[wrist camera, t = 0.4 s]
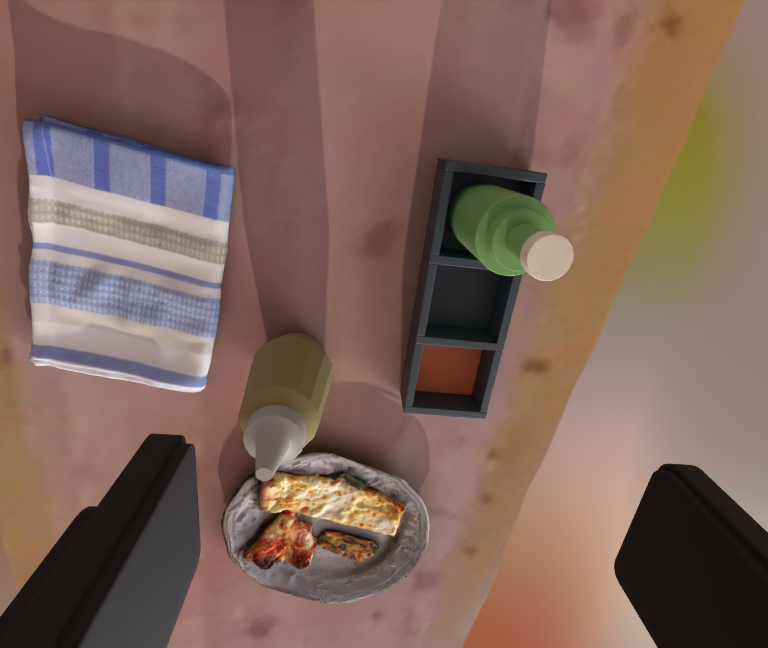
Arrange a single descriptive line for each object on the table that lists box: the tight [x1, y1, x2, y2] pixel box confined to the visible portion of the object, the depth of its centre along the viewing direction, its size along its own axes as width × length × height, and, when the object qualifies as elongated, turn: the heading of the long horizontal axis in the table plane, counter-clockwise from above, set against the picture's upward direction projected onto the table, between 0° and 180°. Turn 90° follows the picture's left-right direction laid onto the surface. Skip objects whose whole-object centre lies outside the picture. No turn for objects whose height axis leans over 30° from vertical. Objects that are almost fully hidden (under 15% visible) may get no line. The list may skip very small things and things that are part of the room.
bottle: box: [446, 182, 573, 281], centre depth 34 cm, size 6×6×17 cm
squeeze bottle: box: [239, 332, 333, 481], centre depth 38 cm, size 8×8×18 cm
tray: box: [400, 159, 547, 419], centre depth 43 cm, size 25×9×4 cm, turn 173°
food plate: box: [221, 451, 430, 604], centre depth 54 cm, size 25×23×4 cm
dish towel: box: [23, 114, 235, 392], centre depth 41 cm, size 17×24×3 cm
